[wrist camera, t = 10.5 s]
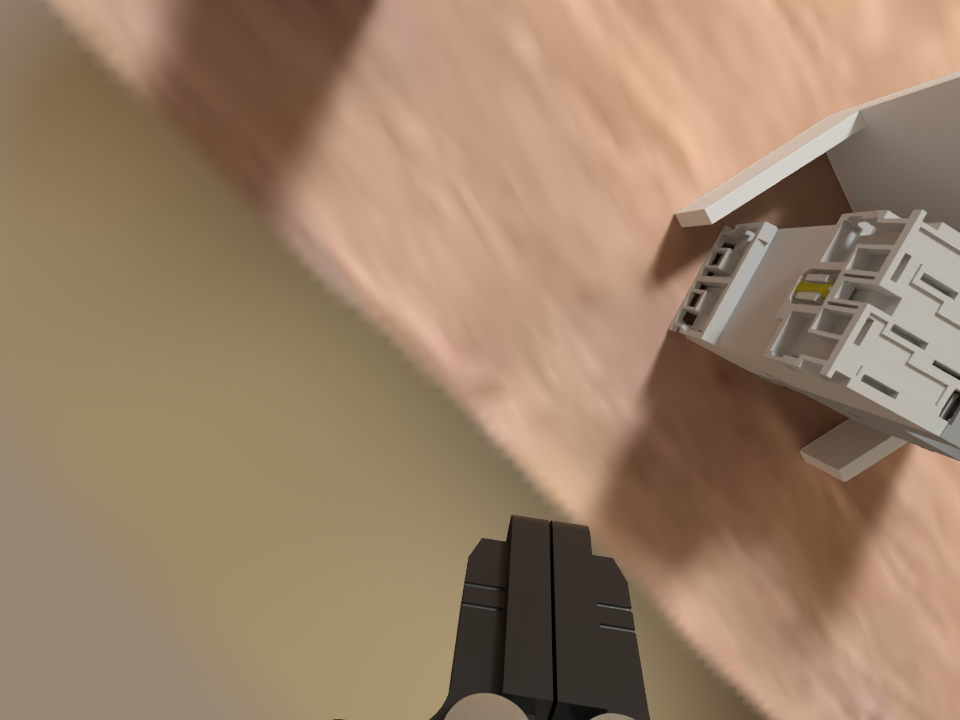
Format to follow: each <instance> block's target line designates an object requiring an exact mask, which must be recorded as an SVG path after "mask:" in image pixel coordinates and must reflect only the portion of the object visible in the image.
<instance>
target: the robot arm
mask: <svg viewBox="0 0 960 720" xmlns="http://www.w3.org/2000/svg"><path fill="white" fill-rule="evenodd" d="M634 630H635V626H634V620H633V614H632V612H631V602H630V596H629V589H628V583H627V581H626V579H625V577H624V576H623V574H622V572H621V571H620V569H619V567H618V566H617V564H616V563H615V561H614V559H613V558H608V557H602V556H595V555H592V548H591V539H590V531H589V528H588V526H583V525H577V524H570V523H564V522H557V521H550V523H549V521H548V520H543V519H537V518H530V517H524V516H518V515H512V516H511V519H510V523H509V529H508V533H507V539H506V542H504V541H498V540H492V539H485V538H482V539H481V540H480V542H479V543H478V545H477V546H476V547H475V549H474V550H473V552H472V553H471V555H470V556H469V558H468V563H467V570H466V577H465V582H464V589H463V595H462V601H461V608H460V614H459V622H458V629H457V636H456V643H455V650H454V659H453V665H452V672H451V680H450V687H449V694H448V696H447V699H446V700H445V703H444V704H443V706H442V707H441V708H440V710H439V711H438V712H437V713H436V714H435V715H434V716H433V717H432V718H431V719H430V720H650V717H649V712H648V706H647V700H646V694H645V688H644V681H643V675H642V669H641V663H640V657H639V651H638V644H637V639H636V634H635V632H634ZM335 720H341V719H335Z"/></svg>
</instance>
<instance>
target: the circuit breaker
mask: <svg viewBox="0 0 960 720" xmlns="http://www.w3.org/2000/svg"><path fill="white" fill-rule="evenodd" d="M926 214H927V212H926V211H924V210H913V212H912V214H911V215H910V217H909V218H900V217H898V216H897V215H895V214H894V213H892V212H890V211H889V210H877V211H867V212H857V213H846V214H842V215H841V217H840V219H839V221H838V222H837V224H836V225H825V226H812V227H799V228H786V229H777V227H776V226H774V225H772V224H770V223H768V222H756V223H746V224H737V225H736V227H735V229H734V230H732V228H731V227H729V226H727V225H726V226H724V227H723V229H722V231H721V232H720V234H719V236H718V238H717V240H716V242H715V244H714V245H713V247H712V249H711V251H710V253H709V255H708V256H707V258H706V260H705V262H704V264H703V266H702V268H701V269H700V271H699V273H698V275H697V277H696V279H695V281H694V282H693V284H692V286H691V288H690V290H689V292H688V293H687V295H686V297H685V299H684V301H683V303H682V305H681V306H680V308H679V310H678V312H677V314H676V316H675V317H674V319H673V321H672V323H671V325H670V327H669V330H671V331H673V332H676V331H677V329H678V328H680V330H679V333H681V334H683V335H685V336H686V337H685V338H686V339H688V340H690V341H692V342H694V343H696V344H698V345H700V346H701V347H703V348H705V349H707V350H709V351H711V352H713V353H715V354H717V355H719V356H720V357H722V358H724V359H726V360H728V361H730V362H732V363H734V364H736V365H738V366H739V367H741V368H743V369H745V370H747V371H749V372H751V373H753V374H755V375H757V376H758V377H760V378H762V379H764V380H766V381H768V382H771V383H774V384H777V385H780V386H782V387H785V386H786V387H788V388H789V389H791V390H794V391H796V392H799V393H802V394H804V395H806V396H808V397H810V398H812V399H814V400H815V401H817V402H819V403H821V404H823V405H825V406H827V407H829V408H831V409H833V410H834V411H836V412H838V413H840V414H842V415H844V416H846V417H848V418H850V419H851V420H853V421H855V422H857V423H860V424H862V425H865V426H868V427H870V428H873V429H876V430H878V431H881V432H884V433H886V434H889V435H892V436H894V437H897V438H900V439H902V440H905V441H908V442H910V443H913V444H915V445H918V446H920V447H922V448H924V449H927V450H930V451H932V452H937V453H939V454H942V455H945V456H947V457H950V458H953V459H955V460H958V461H960V233H959V232H958V231H956V230H954V229H953V228H951V227H950V226H948V225H946V224H945V223H943V222H937V223H924V222H923V219H924V217H925V216H926ZM867 222H868V223H867ZM870 224H871V225H870ZM872 225H873V226H872ZM724 242H725V243H727V244H729V245H731V246H733V247H735V248H734V250H732V249H730V248H722V246H723V244H724ZM717 253H719V254H721V257H720V259H719V260H718V262H717V264H716V265H711V264H712V262H713V260H714V259H715V257H716V255H717ZM709 271H710V272H712V273H713V276H707V274H708V272H709ZM702 284H703V285H705V286H706V289H705V290H700V287H701V285H702ZM695 294H699V297H698V299H697V301H696V303H695V305H694V306H693V307H691V306H689V305H690V303H691V301H692V299H693V297H694V295H695ZM686 312H689V313H691V314H693V315H695V316H697V317H696V319H695V321H694V323H693V325H688V324H687V323H685V322H684V321H683V318H684V316H685V314H686Z"/></svg>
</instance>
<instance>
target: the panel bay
mask: <svg viewBox="0 0 960 720" xmlns="http://www.w3.org/2000/svg"><path fill="white" fill-rule="evenodd" d="M825 152H826V154H827V157H828V159H829V161H830V163H831V165H832V168H833V170H834V172H835V174H836V176H837V178H838V181H839V183H840V185H841V187H842V189H843V192H844V194H845V196H846V198H847V200H848V203H849V205H850V207H851V209H852V211H853V213H857V212H867V211H877V210H889V211H890V212H892V213H894V214H895V215H897V216H898V217H900V218H909V217H910V215H911V214H912V212H913V210H924V211H926V212H927V214H926V216H925V217H924V219H923V222H924V223H937V222H943V223H945V224H946V225H948V226H950V227H951V228H953V229H954V230H956V231H958V232H959V233H960V71H957V72H954V73H951V74H948V75H945V76H942V77H939V78H936V79H934V80H931V81H928V82H925V83H922V84H919V85H916V86H913V87H910V88H907V89H904V90H901V91H898V92H895V93H892V94H890V95H887V96H884V97H881V98H878V99H875V100H872V101H869V102H866V103H863V104H860V105H857V106H854V107H851V108H849V109H846V110H843V111H840V112H837V113H834V114H831V115H829V116H827V117H825V118H824V119H822V120H821V121H819V122H818V123H816V124H814V125H813V126H811V127H810V128H808V129H807V130H805V131H803V132H802V133H800V134H799V135H797V136H796V137H794V138H793V139H791V140H789V141H788V142H786V143H785V144H783V145H782V146H780V147H778V148H777V149H775V150H774V151H772V152H771V153H769V154H767V155H766V156H764V157H763V158H761V159H760V160H758V161H756V162H755V163H753V164H752V165H750V166H749V167H747V168H746V169H744V170H742V171H741V172H739V173H738V174H736V175H735V176H733V177H731V178H730V179H728V180H727V181H725V182H724V183H722V184H720V185H719V186H717V187H716V188H714V189H713V190H711V191H710V192H708V193H706V194H705V195H703V196H702V197H700V198H699V199H697V200H695V201H694V202H692V203H691V204H689V205H688V206H686V207H684V208H683V209H681V210H680V211H678V212H677V213H675V216H676V218H677V220H678V222H679V224H680V225H681V227H691V226H700V225H710V224H713V223H715V222H717V221H718V220H720V219H721V218H723V217H724V216H726V215H728V214H729V213H731V212H732V211H734V210H735V209H737V208H738V207H740V206H742V205H743V204H745V203H746V202H748V201H749V200H751V199H753V198H754V197H756V196H757V195H759V194H760V193H762V192H764V191H765V190H767V189H768V188H770V187H771V186H773V185H775V184H776V183H778V182H779V181H781V180H782V179H784V178H785V177H787V176H789V175H790V174H792V173H793V172H795V171H796V170H798V169H800V168H801V167H803V166H804V165H806V164H807V163H809V162H811V161H812V160H814V159H815V158H817V157H818V156H820V155H822V154H823V153H825ZM867 223H868V222H867ZM870 225H871V224H870ZM872 226H873V225H872ZM906 443H908V441H905V440H902V439H900V438H897V437H894V436H892V435H889V434H886V433H884V432H881V431H878V430H876V429H873V428H870V427H868V426H865V425H862V424H860V423H857V422H855V421H853V420H851V419H850V418H848V419H847V420H845V421H844V422H842V423H840V424H839V425H837V426H836V427H834V428H833V429H831V430H829V431H828V432H826V433H825V434H823V435H822V436H820V437H818V438H817V439H815V440H814V441H812V442H811V443H809V444H807V445H806V446H804V447H803V448H801V449H800V450H799V452H800V454H801V455H802V457H803V459H804V461H805V462H807V463H809V464H811V465H813V466H814V467H816V468H818V469H820V470H822V471H824V472H826V473H828V474H830V475H831V476H833V477H835V478H837V479H839V480H841V481H843V482H847V481H848V480H850V479H851V478H853V477H854V476H856V475H858V474H859V473H861V472H862V471H864V470H865V469H867V468H869V467H870V466H872V465H873V464H875V463H876V462H878V461H880V460H881V459H883V458H884V457H886V456H887V455H889V454H891V453H892V452H894V451H895V450H897V449H898V448H900V447H902V446H903V445H905V444H906Z"/></svg>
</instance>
